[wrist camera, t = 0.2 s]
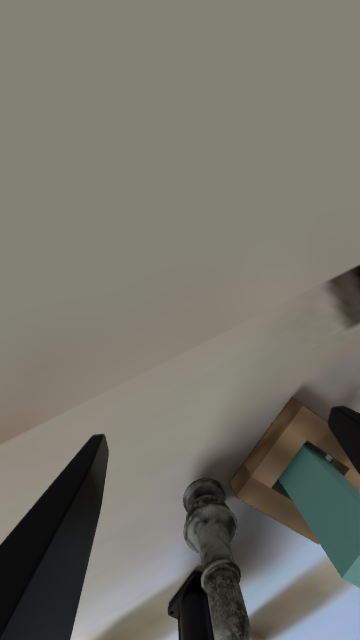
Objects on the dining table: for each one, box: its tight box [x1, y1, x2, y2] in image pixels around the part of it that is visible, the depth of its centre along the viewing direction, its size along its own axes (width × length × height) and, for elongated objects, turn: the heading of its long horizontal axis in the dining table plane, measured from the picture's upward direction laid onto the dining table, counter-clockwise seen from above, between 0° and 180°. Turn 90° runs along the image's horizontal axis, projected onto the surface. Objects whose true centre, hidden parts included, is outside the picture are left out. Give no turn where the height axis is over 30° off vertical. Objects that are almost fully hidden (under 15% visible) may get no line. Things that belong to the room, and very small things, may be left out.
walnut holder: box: [230, 398, 360, 545], centre depth 25 cm, size 13×13×2 cm
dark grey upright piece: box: [183, 479, 251, 640], centre depth 19 cm, size 6×6×12 cm
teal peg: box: [278, 444, 360, 588], centre depth 21 cm, size 5×5×10 cm
